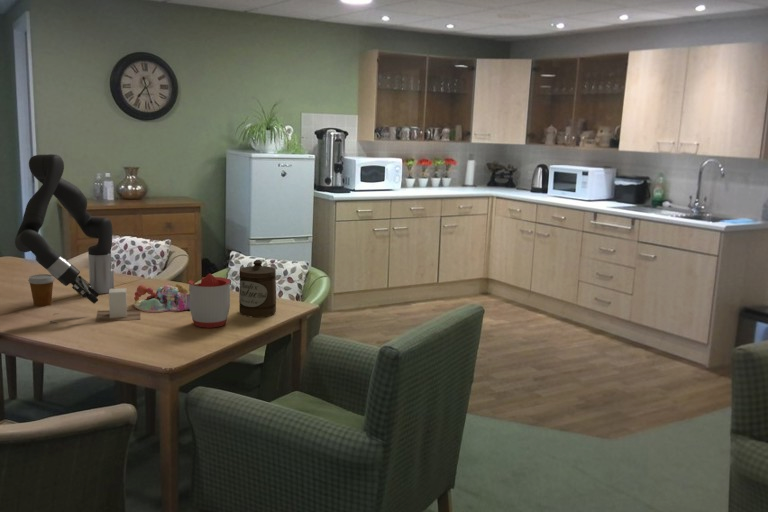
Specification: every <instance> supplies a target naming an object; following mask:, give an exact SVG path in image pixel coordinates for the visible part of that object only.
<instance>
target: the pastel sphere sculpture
mask: <svg viewBox="0 0 768 512" xmlns="http://www.w3.org/2000/svg"><path fill="white" fill-rule="evenodd" d="M146 294H147V295H148V296H146V298H144V299H141V300H139V299H140V298H141V297H142V296H144V295H146ZM133 300H134V301H135V302H134V303H133V307H134V308H135V309H139V310H140V312H141V311H143V312H146V313H156V314H157V313H164V312H168V311H169V312H182V311H187V310H189V311H190V303H189V288H186V286H185V285H183V284H181V283H177V284H176V285H175V286H172V285H170V284H167V285H166V284H165V285H164V286H163V287H161V286H160V287H158V288H157V289H156V292H155V291H154V288H152V287H148V288H147V286H146V285H143V284H140V285H138V286H137V288H136V291H135V292H134V299H133Z"/></svg>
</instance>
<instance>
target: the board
mask: <svg viewBox="0 0 768 512" xmlns="http://www.w3.org/2000/svg"><path fill="white" fill-rule="evenodd" d="M125 321H128V322H129V321H141V310H139V309H137V308H135V309H134V308H133V309H132V308H131V309H127V317H117V318H110V311H109V309H108V310H107V309H106V310H97V314H96V318H95V323H106V322H125Z"/></svg>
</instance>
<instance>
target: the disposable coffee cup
mask: <svg viewBox="0 0 768 512" xmlns="http://www.w3.org/2000/svg"><path fill="white" fill-rule="evenodd" d="M27 281H28V283H29V287H30V292H31V297H32V302H33V306H34V307H47V306H52V299H53V287H54V281H55V277H54V276H53V275H51V274H45V273H44V274H43V273H41V274H33V275H30V276H29V279H28V280H27Z"/></svg>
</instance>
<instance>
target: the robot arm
mask: <svg viewBox="0 0 768 512" xmlns="http://www.w3.org/2000/svg"><path fill="white" fill-rule="evenodd" d="M28 168H29V170H30V173H31V174H32V176H33V177H35V179H36V180H37V181H38V182H40V183H41V186H40V187H39V188H38V190H37V191H36V192H35V193H34V194H33V196H31V197H30V199H29V200H28V202H27V204H26V206H25V210H24V213H23V217H22V221H21V224H20V226H19V228H18V231H17V233H16V235H15V240H14V245H15V247H16V249H17V250H18V251H19V252H22V253H28V252H31V253H32V254H33V255H34V256H35V260H36V262H37V263H38V264H39V265H40V266H41V267H43V268H44V269H45V270H47V271H48V273H49V275H53V278H54V279H56V280H57V281H58V282H59V283H61V284H62V285H63V286H65V287H67V286H69V285H70V284H71V285H72V286H71V289H73V290H74V291H75V292H77V294H79V295H80V296H82V298H83V299H84V298H86V299H88V300H89V301H90V302H91V303H92V304H93V305H94V304H96V303H97V302H98V301H99V299H98V297H99V296H100V294H101V295H103V294H109V289H115V283H114V282H115V280H114V276H115V275H114V269H113V268H112V248H113V223H112V221H111V220H110V219H109V217H100V216H93V215H91V214H90V213H89V211H88V210H87V207H88V200H87V197H86V196H85V194H84V193H83V192H82V191H81V190H80V188H79V187H78V186H77V185H75V184H73V183H72V182H70V181H67V180H66V179H63V178H62V176H63V173H64V171H65V170H64V169H65V163H64V160H63V158H62V157H61V156H60V155H59V154H36V155H32V156H31V157H30V158H29V160H28ZM53 196H54V198H55V199H56V200H57V201H58V203H60V204H61V205H62V207H63V208H64V209H65V211H67V212H68V213H69V214H70V216H71V217H72V218H73V219H74V221H75V222H76V224H77V225H78V226H79V228H80V230H81V231H82V233H83V234H84V235H85V236H86V237H88V238H90V239H97V244H94V245H91V246H89V247H88V249H87V252H88V279H89V282H88V281H87V280H86V279H84V278H83V277H82V276H81V275H80V274H81V271H80V270H79V269H78V268H76V266H74V265H73V264H72V263H70V261H68V260H67V259H66V258H64V257H62V255H60V254H59V253H58V252H57V251H56V250H54V249H53V248H52V247H51V245H49V243H48V242H47V241H46V239H45V238H44V237H43V236H42V235H41V234H40V233H39V231H40V230H41V228H42V227H43V225H44V222H45V217H46V214H47V211H48V207H49V204H50V202H51V199H52V197H53Z"/></svg>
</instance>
